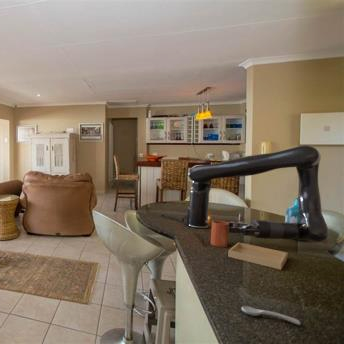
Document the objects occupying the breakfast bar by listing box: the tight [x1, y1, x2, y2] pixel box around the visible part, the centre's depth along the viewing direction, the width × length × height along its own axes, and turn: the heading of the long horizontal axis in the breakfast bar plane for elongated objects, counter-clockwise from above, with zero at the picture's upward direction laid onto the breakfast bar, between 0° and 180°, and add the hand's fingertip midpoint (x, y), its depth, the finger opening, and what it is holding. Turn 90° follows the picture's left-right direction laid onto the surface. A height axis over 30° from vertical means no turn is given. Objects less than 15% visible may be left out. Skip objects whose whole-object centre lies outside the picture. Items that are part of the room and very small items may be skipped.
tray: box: [227, 242, 289, 271], centre depth 112 cm, size 16×14×3 cm
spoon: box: [241, 305, 302, 326], centre depth 73 cm, size 3×12×2 cm, turn 65°
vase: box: [284, 197, 306, 241], centre depth 134 cm, size 11×11×19 cm
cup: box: [210, 220, 230, 248], centre depth 127 cm, size 6×6×10 cm
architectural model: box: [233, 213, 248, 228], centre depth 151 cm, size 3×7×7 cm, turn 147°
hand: (224, 227), depth 126 cm, fingers open, 8 cm apart
